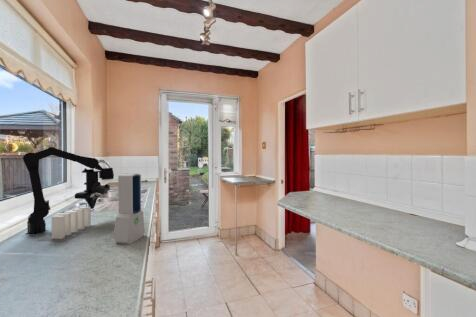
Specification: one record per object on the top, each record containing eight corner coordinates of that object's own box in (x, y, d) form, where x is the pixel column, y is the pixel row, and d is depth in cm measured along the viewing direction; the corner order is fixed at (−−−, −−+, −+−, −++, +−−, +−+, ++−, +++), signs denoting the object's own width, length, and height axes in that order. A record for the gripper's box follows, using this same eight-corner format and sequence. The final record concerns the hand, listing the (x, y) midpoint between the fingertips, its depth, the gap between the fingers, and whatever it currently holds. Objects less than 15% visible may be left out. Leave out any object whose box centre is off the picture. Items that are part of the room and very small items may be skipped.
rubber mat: (36, 242, 103) (36, 241, 103) (77, 225, 127) (77, 224, 127) (61, 243, 102) (61, 241, 102) (98, 226, 126) (98, 225, 126)
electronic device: (127, 245, 100) (127, 174, 99) (112, 243, 101) (111, 174, 101) (145, 235, 112) (144, 172, 111) (131, 234, 113) (130, 172, 113)
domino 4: (73, 229, 119) (72, 209, 119) (75, 228, 121) (75, 208, 121) (82, 229, 119) (82, 209, 119) (84, 228, 120) (84, 209, 120)
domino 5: (79, 226, 124) (79, 207, 123) (81, 225, 125) (81, 206, 125) (88, 226, 123) (88, 207, 123) (90, 225, 125) (90, 207, 125)
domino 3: (66, 232, 115) (65, 211, 115) (68, 230, 116) (68, 210, 116) (75, 232, 114) (75, 211, 114) (78, 231, 116) (77, 211, 116)
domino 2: (58, 235, 110) (58, 214, 110) (61, 233, 112) (61, 213, 112) (68, 235, 110) (68, 214, 110) (71, 234, 112) (70, 213, 111)
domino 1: (51, 238, 106) (51, 216, 106) (54, 237, 108) (54, 215, 107) (62, 238, 106) (61, 216, 105) (64, 237, 107) (64, 215, 107)
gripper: (94, 182, 119) (94, 213, 120) (116, 178, 138) (116, 205, 138) (73, 182, 120) (74, 212, 121) (98, 178, 139) (98, 204, 139)
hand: (92, 208), depth 130 cm, fingers closed
